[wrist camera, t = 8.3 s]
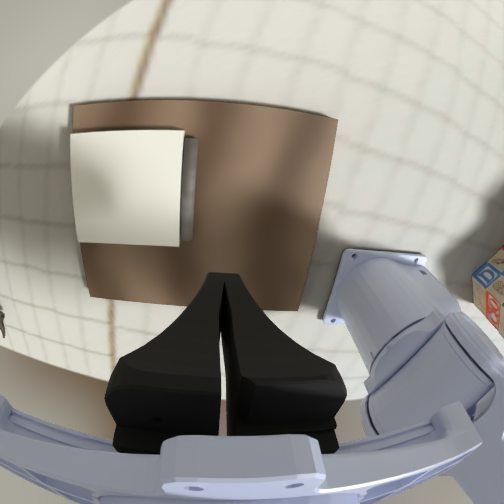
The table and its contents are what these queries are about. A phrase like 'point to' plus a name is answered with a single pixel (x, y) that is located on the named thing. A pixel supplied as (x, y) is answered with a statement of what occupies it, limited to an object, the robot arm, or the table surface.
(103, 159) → the tile
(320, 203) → the board
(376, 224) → the table surface
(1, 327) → the rhino figurine
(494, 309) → the stack of blocks
